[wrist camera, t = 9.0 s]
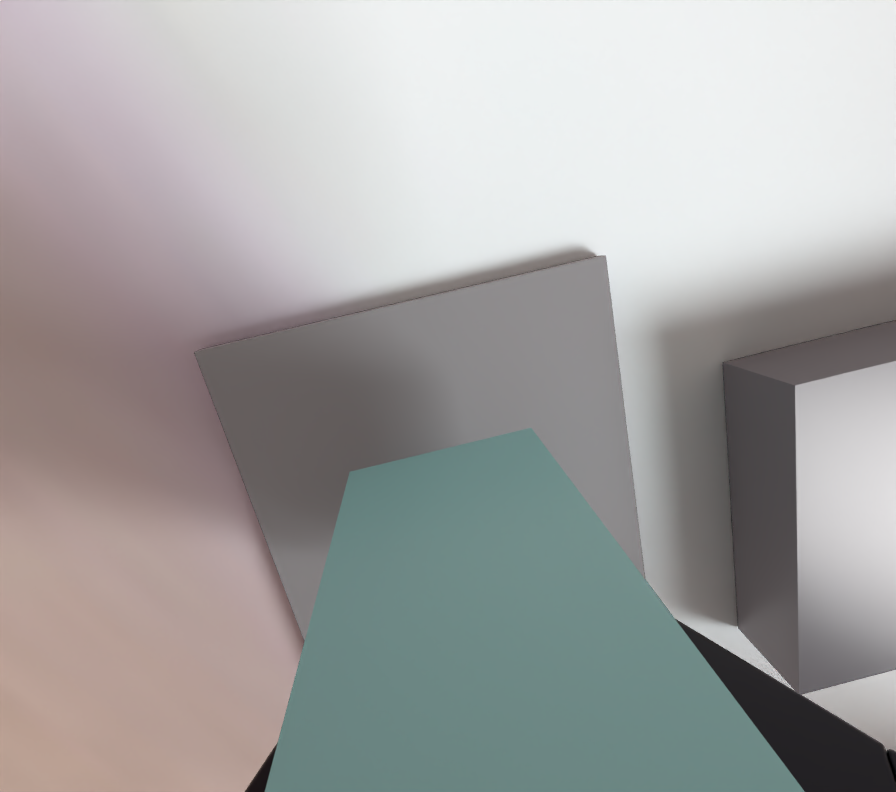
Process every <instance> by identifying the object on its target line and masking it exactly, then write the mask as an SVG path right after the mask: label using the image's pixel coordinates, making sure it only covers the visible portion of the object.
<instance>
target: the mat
mask: <svg viewBox="0 0 896 792" xmlns="http://www.w3.org/2000/svg"><path fill="white" fill-rule="evenodd" d="M194 354H195V356H196V359H197V361H198V364H199V367H200V369H201V372H202V374H203V377H204V380H205V382H206V385H207V388H208V390H209V393H210V395H211V398H212V401H213V403H214V406H215V409H216V411H217V414H218V416H219V419H220V422H221V424H222V427H223V429H224V432H225V435H226V437H227V440H228V443H229V445H230V448H231V450H232V453H233V456H234V458H235V461H236V464H237V466H238V469H239V471H240V474H241V477H242V479H243V482H244V484H245V487H246V490H247V492H248V495H249V498H250V500H251V503H252V505H253V508H254V511H255V513H256V516H257V519H258V521H259V524H260V526H261V529H262V532H263V534H264V537H265V540H266V542H267V545H268V547H269V550H270V553H271V555H272V558H273V560H274V563H275V566H276V568H277V571H278V574H279V576H280V579H281V581H282V584H283V587H284V589H285V592H286V595H287V597H288V600H289V602H290V605H291V608H292V610H293V613H294V615H295V618H296V621H297V623H298V626H299V629H300V631H301V634H302V636H303V639H304V642H305V638H306V634H307V631H308V627H309V623H310V619H311V616H312V612H313V608H314V604H315V601H316V597H317V593H318V589H319V585H320V582H321V578H322V574H323V570H324V567H325V563H326V559H327V555H328V552H329V548H330V544H331V540H332V537H333V533H334V529H335V525H336V521H337V518H338V514H339V510H340V506H341V503H342V499H343V495H344V491H345V488H346V484H347V480H348V476H349V473H350V472H351V471H355V470H359V469H363V468H367V467H371V466H376V465H380V464H384V463H388V462H392V461H396V460H400V459H404V458H408V457H412V456H417V455H421V454H425V453H429V452H433V451H437V450H441V449H445V448H449V447H454V446H458V445H462V444H466V443H470V442H474V441H478V440H482V439H486V438H490V437H495V436H499V435H503V434H507V433H511V432H515V431H519V430H523V429H527V428H532V429H533V431H534V432H535V433H536V435H537V436H538V437H539V439H540V440H541V441H542V443H543V444H544V445H545V447H546V448H547V449H548V451H549V452H550V453H551V455H552V456H553V457H554V459H555V460H556V461H557V463H558V464H559V465H560V467H561V468H562V469H563V471H564V472H565V473H566V475H567V476H568V477H569V479H570V480H571V481H572V483H573V484H574V485H575V487H576V488H577V489H578V491H579V492H580V493H581V495H582V496H583V497H584V499H585V500H586V501H587V503H588V504H589V505H590V507H591V508H592V509H593V511H594V512H595V513H596V515H597V516H598V517H599V519H600V520H601V521H602V523H603V524H604V525H605V527H606V528H607V529H608V531H609V532H610V533H611V535H612V536H613V537H614V539H615V540H616V541H617V543H618V544H619V545H620V547H621V548H622V549H623V551H624V552H625V553H626V555H627V556H628V557H629V559H630V560H631V561H632V563H633V564H634V565H635V567H636V568H637V569H638V570H639V572H640V573H641V574H642V576H643V577H644V578H645V573H644V565H643V557H642V548H641V540H640V532H639V524H638V516H637V507H636V499H635V491H634V483H633V475H632V466H631V458H630V450H629V442H628V434H627V426H626V417H625V409H624V401H623V393H622V385H621V376H620V368H619V360H618V352H617V344H616V335H615V327H614V319H613V311H612V303H611V294H610V286H609V278H608V270H607V262H606V256H596V257H591V258H587V259H583V260H579V261H574V262H570V263H566V264H561V265H557V266H553V267H549V268H544V269H540V270H536V271H532V272H527V273H523V274H519V275H515V276H510V277H506V278H502V279H498V280H493V281H489V282H485V283H481V284H476V285H472V286H468V287H464V288H459V289H455V290H451V291H446V292H442V293H438V294H434V295H429V296H425V297H421V298H417V299H412V300H408V301H404V302H400V303H395V304H391V305H387V306H383V307H378V308H374V309H370V310H366V311H361V312H357V313H353V314H349V315H344V316H340V317H336V318H331V319H327V320H323V321H319V322H314V323H310V324H306V325H302V326H297V327H293V328H289V329H285V330H280V331H276V332H272V333H268V334H263V335H259V336H255V337H251V338H246V339H242V340H238V341H234V342H229V343H225V344H221V345H216V346H212V347H208V348H204V349H200V350H198V351H196V352H194Z"/></svg>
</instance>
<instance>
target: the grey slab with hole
mask: <svg viewBox="0 0 896 792" xmlns="http://www.w3.org/2000/svg"><path fill="white" fill-rule="evenodd" d="M723 373H724V390H725V408H726V425H727V442H728V460H729V477H730V494H731V512H732V529H733V546H734V564H735V581H736V598H737V615H738V628H739V630H740V631H741V632H742V633H743V634H744V635H745V636H746V637H747V638H748V639H749V641H750V642H751V643H752V644H753V645H754V646H755V647H756V648H757V649H758V650H759V651H760V653H761V654H762V655H763V656H764V657H765V658H766V659H767V660H768V661H769V662H770V664H771V665H772V666H773V667H774V668H775V669H776V670H777V671H778V672H779V673H780V674H781V676H782V677H783V678H784V679H785V680H786V681H787V682H788V683H789V684H790V685H791V687H792V688H793V689H794V690H795V691H796V692H797V693H799V694H805V693H809V692H812V691H816V690H820V689H824V688H828V687H831V686H835V685H839V684H843V683H847V682H850V681H854V680H858V679H862V678H865V677H869V676H873V675H877V674H881V673H884V672H888V671H892V670H896V320H895V321H891V322H887V323H883V324H879V325H874V326H870V327H866V328H862V329H858V330H854V331H850V332H846V333H842V334H837V335H833V336H829V337H825V338H821V339H817V340H813V341H809V342H805V343H800V344H796V345H792V346H788V347H784V348H780V349H776V350H772V351H767V352H763V353H759V354H755V355H751V356H747V357H743V358H739V359H735V360H730V361H726V362H723Z"/></svg>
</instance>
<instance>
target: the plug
mask: <svg viewBox="0 0 896 792" xmlns="http://www.w3.org/2000/svg"><path fill="white" fill-rule="evenodd" d="M265 792H805V791H804V790H803V789H802V787H801V786H800V785H799V783H798V782H797V781H796V779H795V778H794V777H793V775H792V774H791V773H790V771H789V770H788V769H787V767H786V766H785V765H784V763H783V762H782V761H781V759H780V758H779V757H778V755H777V754H776V753H775V751H774V750H773V749H772V747H771V746H770V745H769V743H768V742H767V741H766V739H765V738H764V737H763V735H762V734H761V733H760V732H759V730H758V729H757V728H756V726H755V725H754V724H753V722H752V721H751V720H750V718H749V717H748V716H747V714H746V713H745V712H744V710H743V709H742V708H741V706H740V705H739V704H738V702H737V701H736V700H735V698H734V697H733V696H732V694H731V693H730V692H729V690H728V689H727V688H726V686H725V685H724V684H723V682H722V681H721V680H720V678H719V677H718V676H717V674H716V673H715V672H714V670H713V669H712V668H711V666H710V665H709V664H708V662H707V661H706V660H705V658H704V657H703V656H702V654H701V653H700V652H699V650H698V649H697V648H696V646H695V645H694V644H693V642H692V641H691V640H690V638H689V637H688V636H687V634H686V633H685V632H684V630H683V629H682V628H681V626H680V625H679V624H678V622H677V621H676V620H675V618H674V617H673V616H672V614H671V613H670V612H669V610H668V609H667V608H666V606H665V605H664V604H663V602H662V601H661V600H660V598H659V597H658V596H657V594H656V593H655V592H654V590H653V589H652V588H651V586H650V585H649V584H648V582H647V581H646V580H645V578H644V577H643V576H642V574H641V573H640V572H639V570H638V569H637V568H636V567H635V565H634V564H633V563H632V561H631V560H630V559H629V557H628V556H627V555H626V553H625V552H624V551H623V549H622V548H621V547H620V545H619V544H618V543H617V541H616V540H615V539H614V537H613V536H612V535H611V533H610V532H609V531H608V529H607V528H606V527H605V525H604V524H603V523H602V521H601V520H600V519H599V517H598V516H597V515H596V513H595V512H594V511H593V509H592V508H591V507H590V505H589V504H588V503H587V501H586V500H585V499H584V497H583V496H582V495H581V493H580V492H579V491H578V489H577V488H576V487H575V485H574V484H573V483H572V481H571V480H570V479H569V477H568V476H567V475H566V473H565V472H564V471H563V469H562V468H561V467H560V465H559V464H558V463H557V461H556V460H555V459H554V457H553V456H552V455H551V453H550V452H549V451H548V449H547V448H546V447H545V445H544V444H543V443H542V441H541V440H540V439H539V437H538V436H537V435H536V433H535V432H534V431H533V429H532V428H527V429H523V430H519V431H515V432H511V433H507V434H503V435H499V436H495V437H490V438H486V439H482V440H478V441H474V442H470V443H466V444H462V445H458V446H454V447H449V448H445V449H441V450H437V451H433V452H429V453H425V454H421V455H417V456H412V457H408V458H404V459H400V460H396V461H392V462H388V463H384V464H380V465H376V466H371V467H367V468H363V469H359V470H355V471H351V472H350V473H349V476H348V480H347V484H346V488H345V491H344V495H343V499H342V503H341V506H340V510H339V514H338V518H337V521H336V525H335V529H334V533H333V537H332V540H331V544H330V548H329V552H328V555H327V559H326V563H325V567H324V570H323V574H322V578H321V582H320V585H319V589H318V593H317V597H316V601H315V604H314V608H313V612H312V616H311V619H310V623H309V627H308V631H307V634H306V638H305V642H304V646H303V649H302V653H301V657H300V661H299V665H298V668H297V672H296V676H295V680H294V683H293V687H292V691H291V695H290V698H289V702H288V706H287V710H286V713H285V717H284V721H283V725H282V729H281V732H280V736H279V740H278V744H277V747H276V751H275V755H274V759H273V762H272V766H271V770H270V774H269V777H268V781H267V785H266V789H265Z"/></svg>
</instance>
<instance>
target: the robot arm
mask: <svg viewBox="0 0 896 792" xmlns="http://www.w3.org/2000/svg"><path fill="white" fill-rule="evenodd" d="M675 620H676V619H675ZM676 621H677V622H678V624H679V625H680V626H681V628H682V629H683V630H684V632H685V633H686V634H687V636H688V637H689V638H690V640H691V641H692V642H693V644H694V645H695V646H696V648H697V649H698V650H699V652H700V653H701V654H702V656H703V657H704V658H705V660H706V661H707V662H708V664H709V665H710V666H711V668H712V669H713V670H714V672H715V673H716V674H717V676H718V677H719V678H720V680H721V681H722V682H723V684H724V685H725V686H726V688H727V689H728V690H729V692H730V693H731V694H732V696H733V697H734V698H735V700H736V701H737V702H738V704H739V705H740V706H741V708H742V709H743V710H744V712H745V713H746V714H747V716H748V717H749V718H750V720H751V721H752V722H753V724H754V725H755V726H756V728H757V729H758V730H759V732H760V733H761V734H762V735H763V737H764V738H765V739H766V741H767V742H768V743H769V745H770V746H771V747H772V749H773V750H774V751H775V753H776V754H777V755H778V757H779V758H780V759H781V761H782V762H783V763H784V765H785V766H786V767H787V769H788V770H789V771H790V773H791V774H792V775H793V777H794V778H795V779H796V781H797V782H798V783H799V785H800V786H801V787H802V789H803V790H804V791H805V792H896V752H895V751H894V750H891V749H889V750H887V751H886V750H885V747H884V746H883V744H881V743H880V742H878V741H877V740H875V739H873V738H872V737H870V736H868V735H867V734H865V733H863V732H862V731H860V730H858V729H857V728H855V727H853V726H852V725H850V724H849V723H847V722H845V721H844V720H842V719H840V718H839V717H837V716H835V715H834V714H832V713H830V712H829V711H827V710H825V709H824V708H822V707H820V706H819V705H817V704H815V703H814V702H812V701H810V700H809V699H807V698H805V697H804V696H802V695H801V694H799V693H797V692H796V691H794V690H792V689H791V688H789V687H787V686H786V685H784V684H782V683H781V682H779V681H777V680H776V679H774V678H772V677H771V676H769V675H767V674H766V673H764V672H762V671H761V670H759V669H757V668H756V667H754V666H753V665H751V664H749V663H748V662H746V661H744V660H743V659H741V658H739V657H738V656H736V655H734V654H733V653H731V652H729V651H728V650H726V649H724V648H723V647H721V646H719V645H718V644H716V643H714V642H713V641H711V640H709V639H708V638H706V637H705V636H703V635H701V634H700V633H698V632H696V631H695V630H693V629H691V628H690V627H688V626H686V625H685V624H683V623H681V622H680V621H678V620H676ZM277 744H278V743H277ZM277 744H276V746H275V747H274V749H273V750H272V752H271V753H270V755H269V756H268V758H267V759H266V761H265V762H264V764H263V765H262V767H261V768H260V770H259V771H258V773H257V774H256V776H255V777H254V779H253V780H252V782H251V783H250V785H249V786H248V788H247V789H246V791H245V792H265V789H266V785H267V781H268V777H269V774H270V770H271V766H272V762H273V759H274V755H275V751H276V747H277Z"/></svg>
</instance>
